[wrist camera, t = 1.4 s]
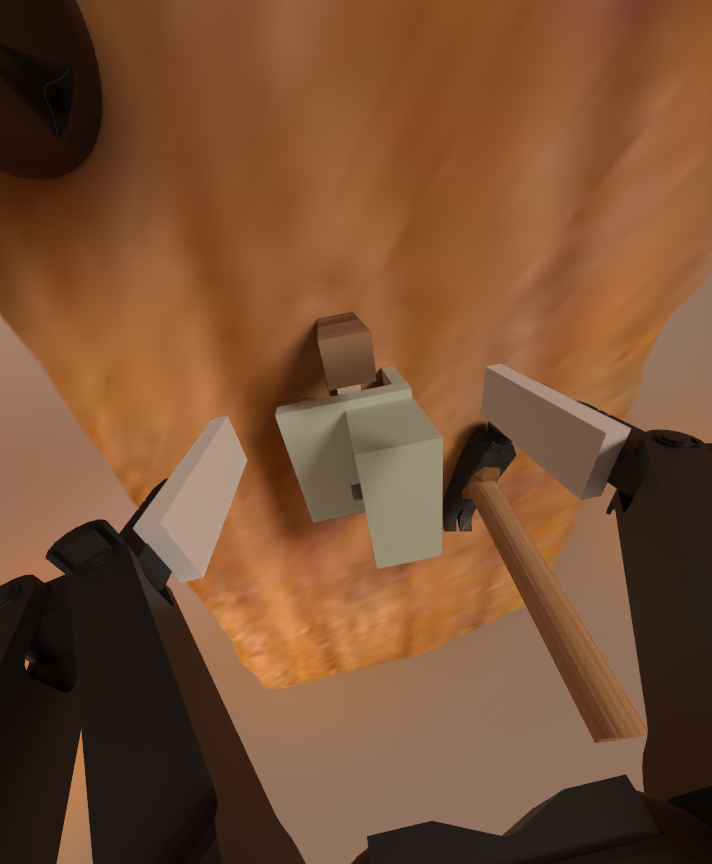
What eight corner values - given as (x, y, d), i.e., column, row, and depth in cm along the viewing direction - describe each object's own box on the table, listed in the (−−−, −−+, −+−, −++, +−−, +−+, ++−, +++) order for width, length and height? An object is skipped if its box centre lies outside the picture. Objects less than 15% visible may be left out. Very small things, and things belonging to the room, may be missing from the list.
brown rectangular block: (317, 318, 30) (317, 341, 20) (352, 312, 30) (370, 330, 20) (346, 448, 40) (356, 509, 29) (372, 443, 40) (391, 502, 29)
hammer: (458, 502, 51) (565, 739, 29) (433, 501, 51) (524, 746, 28) (513, 418, 39) (783, 727, 16) (481, 416, 38) (719, 739, 15)
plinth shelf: (283, 387, 34) (260, 463, 20) (392, 365, 34) (443, 426, 20) (314, 482, 42) (312, 583, 28) (401, 464, 42) (441, 555, 29)
